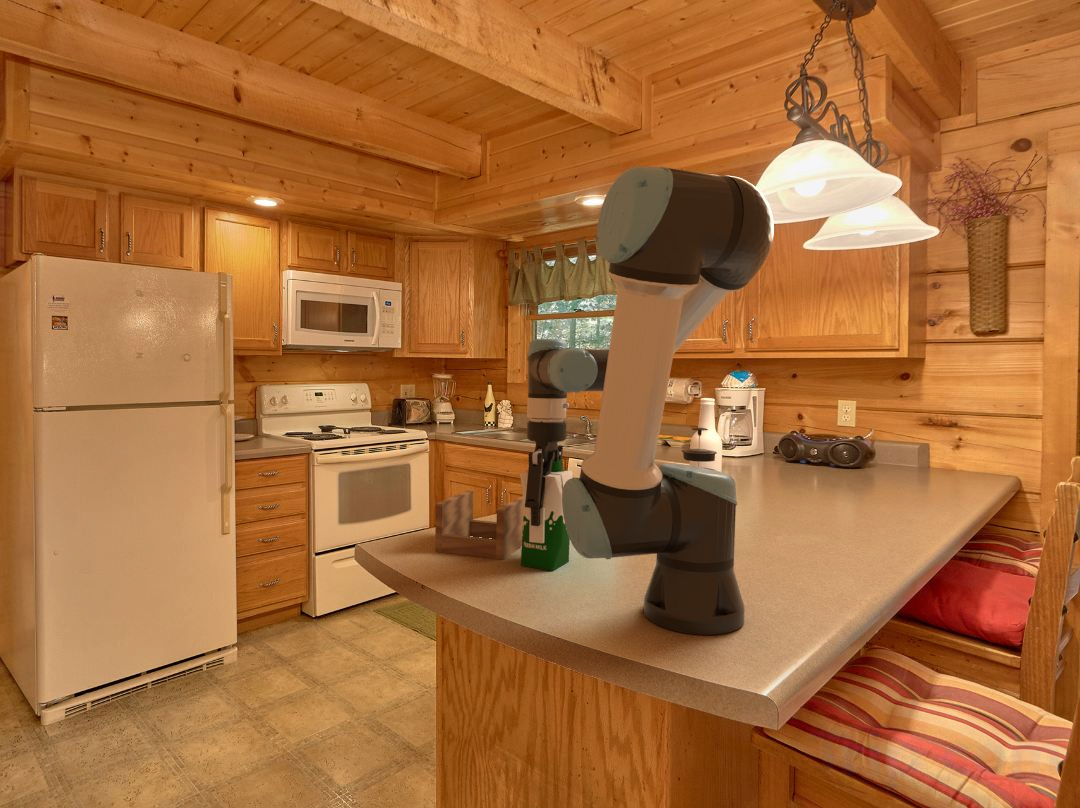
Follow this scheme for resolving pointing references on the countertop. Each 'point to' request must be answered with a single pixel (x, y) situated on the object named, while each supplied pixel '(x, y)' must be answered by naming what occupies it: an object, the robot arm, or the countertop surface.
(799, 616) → the countertop surface
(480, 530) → the wooden holder
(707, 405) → the alcohol
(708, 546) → the robot arm
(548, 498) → the milk carton
